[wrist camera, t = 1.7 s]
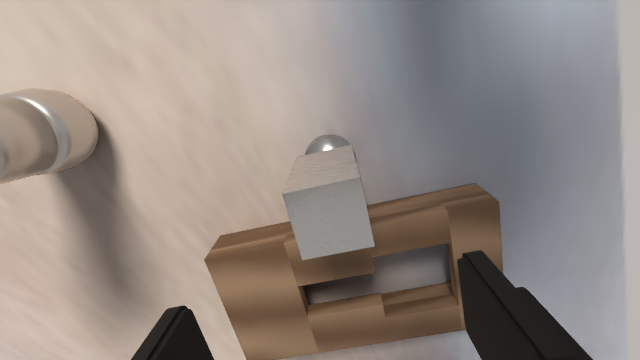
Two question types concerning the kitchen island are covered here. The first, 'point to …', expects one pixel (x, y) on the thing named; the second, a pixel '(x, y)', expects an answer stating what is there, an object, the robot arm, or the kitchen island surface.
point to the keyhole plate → (358, 312)
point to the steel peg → (327, 200)
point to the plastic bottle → (43, 133)
